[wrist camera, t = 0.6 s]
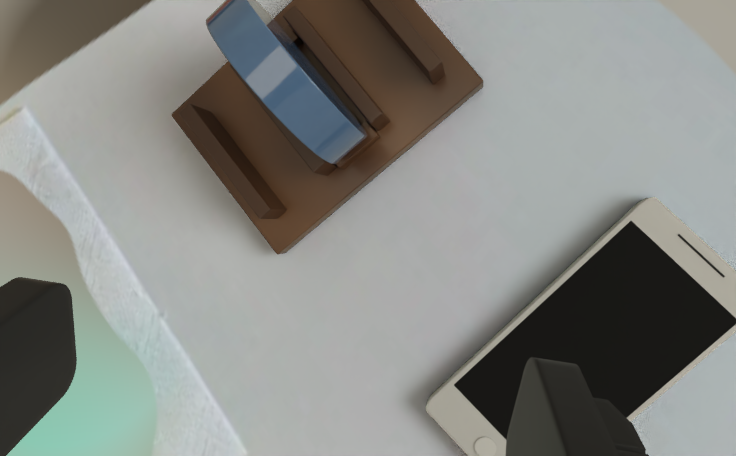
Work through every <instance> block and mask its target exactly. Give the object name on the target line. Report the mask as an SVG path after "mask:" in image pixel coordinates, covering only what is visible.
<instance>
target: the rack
mask: <svg viewBox="0 0 736 456" xmlns="http://www.w3.org/2000/svg"><path fill="white" fill-rule="evenodd" d="M274 20H275V21H276V22H277V23H278V24H279V25H280V26H281V27H282V28H283V29H284V31H285V32H286V33H287V34H288V35H289V36H290V37H291V38H292V40H293V41H294V42H295V43H296V44H297V45H298V46H299V48H300V49H301V50H302V51H303V52H304V53H305V54H306V56H307V57H308V58H309V59H310V60H311V62H312V63H313V64H314V65H315V66H316V67H317V69H318V70H319V71H320V72H321V73H322V75H323V76H324V77H325V78H326V79H327V81H328V82H329V83H330V84H331V86H332V87H333V88H334V89H335V91H336V92H337V93H338V94H339V96H340V97H341V98H342V99H343V101H344V102H345V103H346V105H347V106H348V107H349V108H350V110H351V111H352V112H353V114H354V115H355V116H356V118H357V119H358V121H359V122H360V124H361V125H362V127H363V128H364V130H365V132H366V134H367V137H366V138H365V139H364V140H363V141H362V142H360V143H359V144H358V145H357V146H356V147H355V148H353V149H352V150H351V151H350V152H349V153H348V154H346V155H345V156H344V157H343V158H342V159H341V160H339V161H338V162H337V163H336V164H330V163H328V162H326V161H325V160H323V159H322V158H320V157H319V156H318V155H316V154H315V153H314V152H312V151H311V150H310V149H309V148H308V147H307V146H305V145H304V144H303V143H302V142H301V141H300V140H299V139H298V138H297V137H296V136H295V135H294V134H293V133H291V132H290V131H289V130H288V129H287V128H286V127H285V126H284V125H283V124H282V122H281V121H280V120H279V119H278V118H277V117H276V116H275V115H274V114H273V113H272V112H271V111H270V110H269V109H268V108H267V107H266V105H265V104H264V103H263V102H262V101H261V100H260V99H259V98H258V96H257V95H256V94H255V93H254V92H253V91H252V90H251V88H250V87H249V86H248V85H247V84H246V82H245V81H244V80H243V79H242V78H241V76H240V75H239V74H238V73H237V71H236V70H235V69H234V68H233V66H232V65H231V64H230V62H229V61H228V62H227V63H226V64H225V65H224V66H223V67H222V68H220V69H219V70H218V71H217V72H216V73H215V74H214V75H213V76H212V77H211V78H210V79H209V80H208V81H207V82H206V83H205V84H203V85H202V86H201V87H200V88H199V89H198V90H197V91H196V92H195V93H194V94H193V95H192V96H191V97H190V98H189V99H187V100H186V101H185V102H184V103H183V104H182V105H181V106H180V107H179V108H178V109H177V110H176V111H175V112H174V113H173V114H172V117H173V118H174V119H175V121H176V122H177V123H178V125H179V126H180V127H181V129H182V130H183V131H184V133H185V134H186V135H187V136H188V138H189V139H190V140H191V142H192V143H193V144H194V146H195V147H196V148H197V150H198V151H199V152H200V154H201V155H202V156H203V157H204V159H205V160H206V161H207V163H208V164H209V165H210V167H211V168H212V169H213V171H214V172H215V173H216V175H217V176H218V177H219V179H220V180H221V181H222V182H223V184H224V185H225V186H226V188H227V189H228V190H229V192H230V193H231V194H232V196H233V197H234V198H235V200H236V201H237V202H238V203H239V205H240V206H241V207H242V209H243V210H244V211H245V213H246V214H247V215H248V217H249V218H250V219H251V221H252V222H253V223H254V225H255V226H256V227H257V228H258V230H259V231H260V232H261V234H262V235H263V236H264V238H265V239H266V240H267V242H268V243H269V244H270V246H271V247H272V248H273V250H274V251H275V252H276V253H277V254H282V253H286V252H287V251H288V250H289V249H291V248H292V247H293V246H294V245H295V244H297V243H298V242H299V241H300V240H301V239H303V238H304V237H305V236H306V235H307V234H308V233H310V232H311V231H312V230H313V229H314V228H316V227H317V226H318V225H319V224H320V223H322V222H323V221H324V220H325V219H326V218H328V217H329V216H330V215H331V214H332V213H333V212H335V211H336V210H337V209H338V208H339V207H341V206H342V205H343V204H344V203H345V202H347V201H348V200H349V199H350V198H351V197H353V196H354V195H355V194H356V193H357V192H358V191H360V190H361V189H362V188H363V187H364V186H366V185H367V184H368V183H369V182H370V181H372V180H373V179H374V178H375V177H376V176H378V175H379V174H380V173H381V172H382V171H383V170H385V169H386V168H387V167H388V166H389V165H391V164H392V163H393V162H394V161H395V160H397V159H398V158H399V157H400V156H401V155H403V154H404V153H405V152H406V151H407V150H409V149H410V148H411V147H412V146H413V145H414V144H416V143H417V142H418V141H419V140H420V139H422V138H423V137H424V136H425V135H426V134H428V133H429V132H430V131H431V130H432V129H434V128H435V127H436V126H437V125H438V124H439V123H441V122H442V121H443V120H444V119H445V118H447V117H448V116H449V115H450V114H451V113H453V112H454V111H455V110H456V109H457V108H459V107H460V106H461V105H462V104H463V103H464V102H466V101H467V100H468V99H469V98H470V97H472V96H473V95H474V94H475V93H476V92H478V91H479V90H480V89H481V88H482V87H483V80H482V78H481V77H480V76H479V75H478V74H477V73H476V71H475V70H474V69H473V68H472V67H471V66H470V64H469V63H468V62H467V61H466V60H465V59H464V57H463V56H462V55H461V54H460V53H459V52H458V50H457V49H456V48H455V47H454V46H453V45H452V43H451V42H450V41H449V40H448V39H447V37H446V36H445V35H444V34H443V33H442V32H441V30H440V29H439V28H438V27H437V26H436V25H435V23H434V22H433V21H432V20H431V19H430V18H429V16H428V15H427V14H426V13H425V12H424V11H423V9H422V8H421V7H420V6H419V5H418V3H417V2H416V1H415V0H293V1H292V2H291V3H290V4H289V5H288V6H286V7H285V8H284V9H283V10H282V11H281V12H280V13H279V14H278V15H277V16H276V17H275V18H274Z"/></svg>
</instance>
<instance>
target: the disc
mask: <svg viewBox="0 0 736 456" xmlns="http://www.w3.org/2000/svg"><path fill="white" fill-rule="evenodd" d="M206 25H207V28H208V30H209V32H210V34H211V36H212V37H213V39H214V41H215V42H216V44H217V45H218V47H219V48H220V50H221V51H222V53H223V54H224V56H225V57H226V58H227V60H228V61H229V62H230V64H231V65H232V66H233V68H234V69H235V70H236V71H237V73H238V74H239V75H240V76H241V78H242V79H243V80H244V81H245V82H246V84H247V85H248V86H249V87H250V88H251V90H252V91H253V92H254V93H255V94H256V95H257V96H258V98H259V99H260V100H261V101H262V102H263V103H264V104H265V105H266V107H267V108H268V109H269V110H270V111H271V112H272V113H273V114H274V115H275V116H276V117H277V118H278V119H279V120H280V121H281V122H282V124H283V125H284V126H285V127H286V128H287V129H288V130H289V131H290V132H291V133H293V134H294V135H295V136H296V137H297V138H298V139H299V140H300V141H301V142H302V143H303V144H304V145H305V146H307V147H308V148H309V149H310V150H311V151H312V152H314V153H315V154H316V155H318V156H319V157H320V158H322V159H323V160H325V161H326V162H328V163H330V164H336V163H337V162H338V161H339V160H341V159H342V158H343V157H344V156H345V155H346V154H348V153H349V152H350V151H351V150H352V149H353V148H355V147H356V146H357V145H358V144H359V143H360V142H362V141H363V140H364V139H365V138H366V137H367V134H366V132H365V130H364V128H363V127H362V125H361V124H360V122H359V121H358V119H357V118H356V116H355V115H354V114H353V112H352V111H351V110H350V108H349V107H348V106H347V105H346V103H345V102H344V101H343V99H342V98H341V97H340V96H339V94H338V93H337V92H336V91H335V89H334V88H333V87H332V86H331V84H330V83H329V82H328V81H327V79H326V78H325V77H324V76H323V75H322V73H321V72H320V71H319V70H318V69H317V67H316V66H315V65H314V64H313V63H312V62H311V60H310V59H309V58H308V57H307V56H306V54H305V53H304V52H303V51H302V50H301V49H300V48H299V46H298V45H297V44H296V43H295V42H294V41H293V40H292V38H291V37H290V36H289V35H288V34H287V33H286V32H285V31H284V29H283V28H282V27H281V26H280V25H279V24H278V23H277V22H276V21H275V20H274V18H273V17H272V16H271V15H270V14H269V13H268V12H267V11H266V10H265V9H264V8H263V7H262V6H261V5H260V4H259V3H258V2H257V1H256V0H226V1H225V2H223V3H222V4H221V5H220V6H219V7H218V8H217V9H216V10H215V11H214V12H213V13H212V14H211V15H210V16H209V17H208V18H207V19H206Z"/></svg>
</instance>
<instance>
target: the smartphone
mask: <svg viewBox="0 0 736 456" xmlns="http://www.w3.org/2000/svg"><path fill="white" fill-rule="evenodd" d="M735 332H736V271H735V270H734V269H733V268H732V267H731V266H730V265H729V264H728V263H727V262H726V261H724V260H723V259H722V258H721V257H720V256H719V255H718V254H717V253H716V252H715V251H714V250H712V249H711V248H710V247H709V246H708V245H707V244H706V243H705V242H704V241H703V240H702V239H701V238H699V237H698V236H697V235H696V234H695V233H694V232H693V231H692V230H691V229H690V228H689V227H687V226H686V225H685V224H684V223H683V222H682V221H681V220H680V219H679V218H678V217H677V216H675V215H674V214H673V213H672V212H671V211H670V210H669V209H668V208H667V207H666V206H665V205H664V204H662V203H661V202H660V201H659V200H658V199H657V198H655V197H652V198H646V199H643V200H641V201H640V202H639V203H637V204H636V205H635V206H634V207H633V208H632V209H631V210H630V211H628V212H627V213H626V214H625V215H624V216H623V217H622V218H621V219H620V220H619V221H618V222H617V223H616V224H614V225H613V226H612V227H611V228H610V229H609V230H608V231H607V232H606V233H605V234H604V235H603V236H602V237H601V238H599V239H598V240H597V241H596V242H595V243H594V244H593V245H592V246H591V247H590V248H589V249H588V250H587V251H585V252H584V253H583V254H582V255H581V256H580V257H579V258H578V259H577V260H576V261H575V262H574V263H573V264H572V265H570V266H569V267H568V268H567V269H566V270H565V271H564V272H563V273H562V274H561V275H560V276H559V277H558V278H556V279H555V280H554V281H553V282H552V283H551V284H550V285H549V286H548V287H547V288H546V289H545V290H544V291H543V292H541V293H540V294H539V295H538V296H537V297H536V298H535V299H534V300H533V301H532V302H531V303H530V304H529V305H527V306H526V307H525V308H524V309H523V310H522V311H521V312H520V313H519V314H518V315H517V316H516V317H515V318H514V319H512V320H511V321H510V322H509V323H508V324H507V325H506V326H505V327H504V328H503V329H502V330H501V331H500V332H498V333H497V334H496V335H495V336H494V337H493V338H492V339H491V340H490V341H489V342H488V343H487V344H486V345H485V346H483V347H482V348H481V349H480V350H479V351H478V352H477V353H476V354H475V355H474V356H473V357H472V358H471V359H469V360H468V361H467V362H466V363H465V364H464V365H463V366H462V367H461V368H460V369H459V370H458V371H457V372H455V373H454V374H453V375H452V376H451V377H450V378H449V379H448V380H447V381H446V382H445V383H444V384H443V385H442V386H440V387H439V388H438V389H437V390H436V391H435V392H434V393H433V394H432V395H431V396H430V397H429V399H428V401H427V405H426V412H427V413H428V414H429V415H430V416H431V417H432V418H433V419H434V420H435V421H436V422H437V423H438V424H439V425H440V426H441V428H442V429H443V430H444V431H445V432H446V433H447V434H448V435H449V436H450V437H451V438H452V439H453V440H454V441H455V442H456V443H457V445H458V446H459V447H460V448H461V449H462V450H463V451H464V452H465V453H466V454H467V455H468V456H506V441H507V434H508V429H509V425H510V422H511V418H512V414H513V410H514V406H515V402H516V399H517V395H518V391H519V387H520V383H521V380H522V376H523V372H524V368H525V365H526V363H527V361H528V360H529V358H531V357H534V358H540V359H547V360H553V361H560V362H566V363H573V364H576V365H578V366H579V368H580V370H581V372H582V374H583V377H584V379H585V381H586V383H587V385H588V388H589V390H590V392H591V394H592V396H593V398H600V399H606V400H608V401H610V402H611V403H612V404H613V405H614V406H615V407H616V408H617V409H618V410H619V411H620V412H621V413H622V414H623V415H624V416H625V417H626V418H627V419H628V420H629V421H630V422H631V421H632V420H633V419H634V418H635V417H636V416H638V415H639V414H640V413H641V412H642V411H643V410H645V409H646V408H647V407H648V406H649V405H650V404H652V403H653V402H654V401H655V400H656V399H657V398H659V397H660V396H661V395H662V394H663V393H664V392H666V391H667V390H668V389H669V388H670V387H672V386H673V385H674V384H675V383H676V382H677V381H679V380H680V379H681V378H682V377H683V376H684V375H686V374H687V373H688V372H689V371H690V370H691V369H693V368H694V367H695V366H696V365H697V364H698V363H700V362H701V361H702V360H703V359H704V358H705V357H707V356H708V355H709V354H710V353H711V352H713V351H714V350H715V349H716V348H717V347H718V346H720V345H721V344H722V343H723V342H724V341H725V340H727V339H728V338H729V337H730V336H731V335H732V334H734V333H735Z"/></svg>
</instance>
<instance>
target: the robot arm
mask: <svg viewBox="0 0 736 456" xmlns="http://www.w3.org/2000/svg"><path fill="white" fill-rule="evenodd" d="M75 370H76V346H75V335H74V321H73V309H72V297H71V293H70V290H69V289H68V287H67V286H66V285H64V284H61V283H55V282H48V281H42V280H36V279H29V278H22V277H18V278H15V279H13V280H11V281H10V282H8V283H6V284H5V285H3V286H1V287H0V456H6V455H7V454H8V453H9V452H10V451H11V450H12V449H13V448H14V447H15V446H16V445H17V444H18V443H19V441H20V440H21V439H22V438H23V437H24V436H25V435H26V434H27V433H28V432H29V431H30V430H31V429H32V428H33V427H34V426H35V425H36V424H37V423H38V422H39V421H40V420H41V418H43V416H44V415H45V414H46V413H47V412H48V411H49V410H50V409H51V408H52V407H53V406H54V405H55V404H56V403H57V402H58V401H59V400H60V399H61V398H62V397H63V396H64V394H65V393H66V392H67V390H68V388H69V386H70V384H71V382H72V380H73V377H74V374H75ZM645 450H646V449H645V447H644V445H643V444H642V442H641V440H640V438H639V436H638V434H637V432H636V430H635V428H634V426H633V424H632V423H631V422H630V421H629V420H628V419H627V418H626V417H625V416H624V415H623V414H622V413H621V412H620V411H619V410H618V409H617V408H616V407H615V406H614V405H613V404H612V403H611V402H610V401H608V400H606V399H600V398H593V396H592V394H591V392H590V390H589V388H588V385H587V383H586V381H585V379H584V377H583V374H582V372H581V370H580V368H579V366H578V365H576V364H573V363H566V362H560V361H553V360H547V359H540V358H534V357H531V358H529V360H528V361H527V363H526V365H525V368H524V372H523V376H522V380H521V383H520V387H519V391H518V395H517V399H516V402H515V406H514V410H513V414H512V418H511V422H510V425H509V429H508V434H507V441H506V456H649V455H647V454H645Z"/></svg>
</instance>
